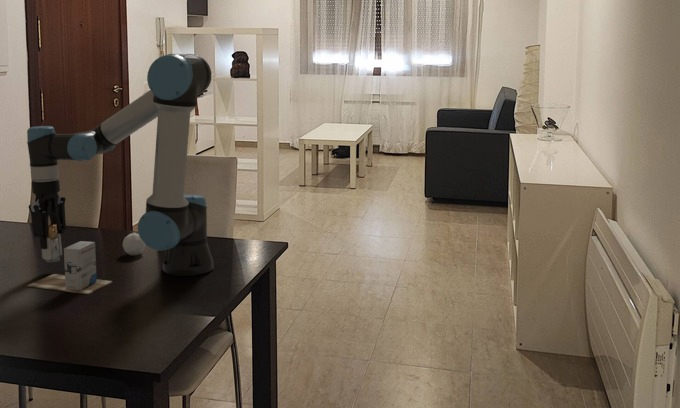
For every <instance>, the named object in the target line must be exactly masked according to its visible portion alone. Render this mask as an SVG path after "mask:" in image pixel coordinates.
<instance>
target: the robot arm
mask: <svg viewBox="0 0 680 408" xmlns="http://www.w3.org/2000/svg"><path fill="white" fill-rule="evenodd" d="M148 68H149V69H148V71H147V76H146V77H147V79H146V80H147V85H148V88H149V90H148V91H146V92H145V93H143V95H141V96H139V97H138V98H136V99H135V100H133V101H132V102H131V103H129V104H127V105H126V106H124V107H123V108H121V109H120V110H119V111H117V112H116V113H115V114H112V115H111V116H110V117H108V118H106V120H104V121H103V122H101V123H99V124H98V125H97V126H96V127H94V128H92V129H91V130H86V131H80V132H75V133H56V131H55V128H54V127H53V126H51V125H39V126H31V127H29V128H28V129H27V131H26V133H27V134H26V135H27V137H26V139H27V142H26V144H27V149H28V155H29V156H28V157H29V167H30V177H31V178H30V179H31V180H32V182H31V191H32V193H33V194H34V196H35V199H34V202H33V204H29V205H28V210H29V212H30V216H31V218H30V219H31V226H32V233H33V237H34V238H37V239H39V244H40V245H39V246H40V249H41V257H42V258H41V259H42V260H46V259H48V260H51V259H52V254H51V243H50V238H48V223H49V220H50V223H56V224H57V233H58V243H59V254H60V256H63V247H62V242H63V239H62V234H65V230H66V229H67V224H66V222H67V221H66V208H65V207H66V206H65V205H66V197H65V196H64V197H63V196H60V195H59V193H60V191H61V188H60V180H59V179H58V178H59V177H60V173H59V165H58V161H77V162H83V161H91V160H92V159H93V158H94V157H95V156H98V155H103V154H107V153H109V152H111V151H113V150H114V149H115V147H116V145H118V144H119V143H121V142H122V141H123V140H125V139H126V138H128V137H129V136H131V135H132V134H134V133H136V132H137V131H138V130H139V129H142V128H143V127H144V126H146V125H147V124H149V123H150V122H152V121H154V120H155V119H157V121H156V122H157V125H156V135H155V137H156V138H155V153H154V163H153V165H154V167H153V168H154V169H153V181H152V182H153V183H152V193H151V195H149V196H148V197H147V198H146V200H145V202H146V203H145V212H144V213H143V215H141V216H140V218H139V220H138V223H137V233H138V234H139V236H140V238H141V240H142V241H143V242H144V243H145V244H146V246H147V247H148V248H150V249H152V250H155V251H158V252H159V251H166V252H165V255H164V259H163V261H162V270H163V272H164V273H165V274H168V275H171V276H178V277H187V276H188V277H191V276H192V277H193V276H199V275H203V274H207V273H209V272H211V271H213V270H214V268H215V266H214V259H213V256H212V254H211V251H210V248H209V245H208V227H207V226H208V221H207V219H208V217H207V215H208V214H207V209H208V207H207V201H206V197H204V196H203V195H200V194H188V193H187V194H186V193H185V183H186V182H185V181H186V171H187V161H188V158H187V157H188V149H189V148H188V147H189V135H190V134H189V133H190V122H191V121H190V120H191V113H192V111H193V110H195V109H196V108H197V105H198V103H197V102H198V96H199V95H201V94H203V93H204V92H205V91H206V90H207V89H208V88H209V87H210V85H211V82H212V70H211V67H210V64H208V62H207V60H206V59H204V58H203V57H201V55H198V54H194V53H168V54H166V55H165V54H164V55H162V56H159V57H157V58H156V59H155V60H153V62H152V63H151V64H150V66H149V67H148ZM212 269H213V270H212Z"/></svg>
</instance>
